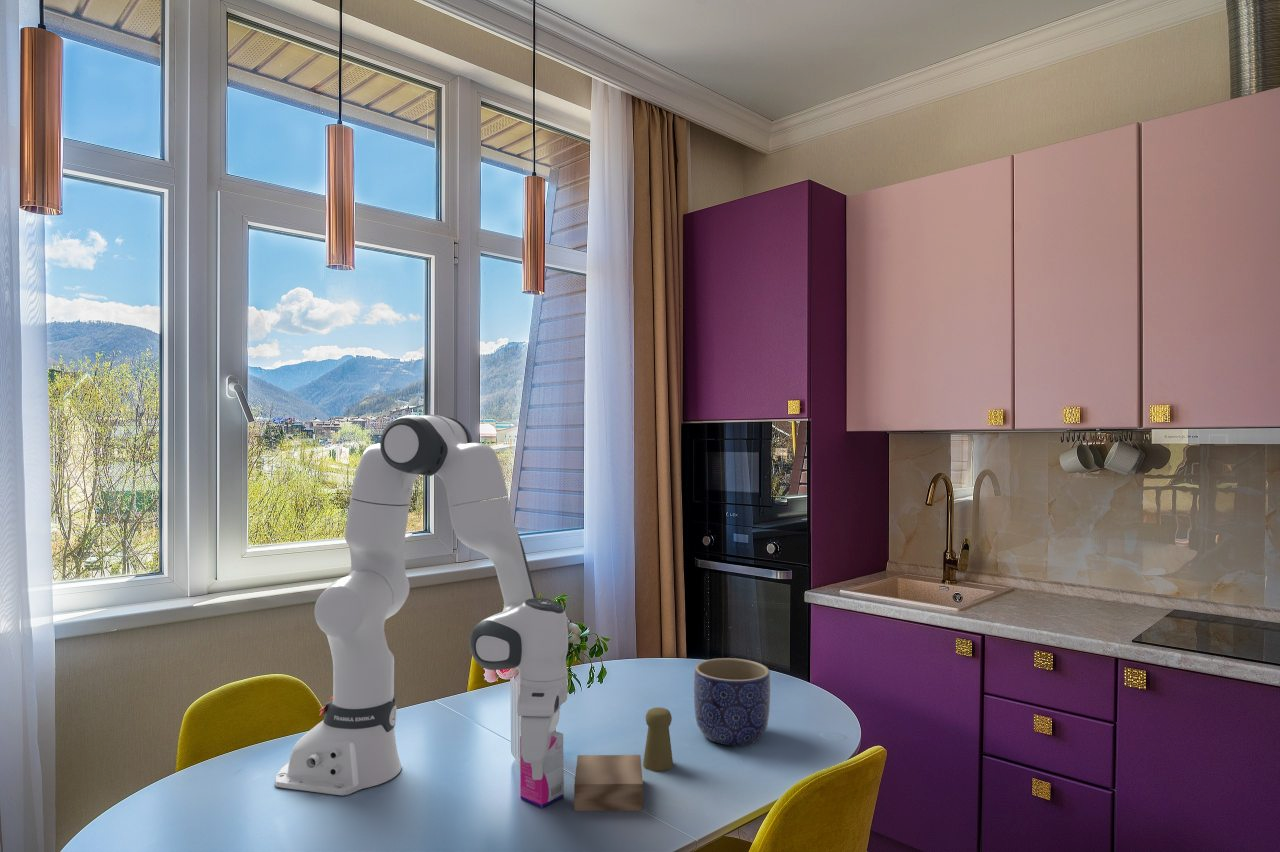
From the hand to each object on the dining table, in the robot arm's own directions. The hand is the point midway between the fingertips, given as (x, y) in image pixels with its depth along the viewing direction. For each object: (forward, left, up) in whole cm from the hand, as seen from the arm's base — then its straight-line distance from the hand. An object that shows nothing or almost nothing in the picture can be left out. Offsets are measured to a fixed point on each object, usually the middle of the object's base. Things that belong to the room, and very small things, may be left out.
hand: (542, 766), depth 137 cm
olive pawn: (+21, +15, -6) cm, 26 cm away
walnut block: (+12, +2, -6) cm, 14 cm away
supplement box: (0, 0, -6) cm, 6 cm away
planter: (+37, +30, -6) cm, 48 cm away
